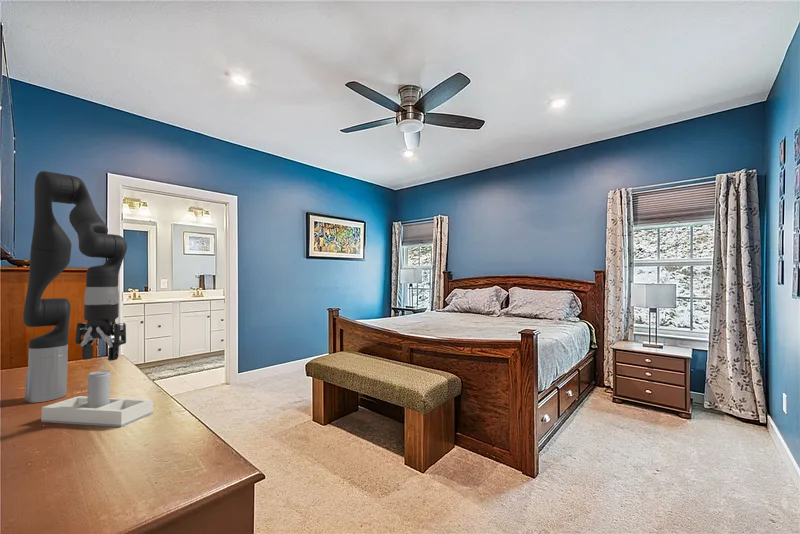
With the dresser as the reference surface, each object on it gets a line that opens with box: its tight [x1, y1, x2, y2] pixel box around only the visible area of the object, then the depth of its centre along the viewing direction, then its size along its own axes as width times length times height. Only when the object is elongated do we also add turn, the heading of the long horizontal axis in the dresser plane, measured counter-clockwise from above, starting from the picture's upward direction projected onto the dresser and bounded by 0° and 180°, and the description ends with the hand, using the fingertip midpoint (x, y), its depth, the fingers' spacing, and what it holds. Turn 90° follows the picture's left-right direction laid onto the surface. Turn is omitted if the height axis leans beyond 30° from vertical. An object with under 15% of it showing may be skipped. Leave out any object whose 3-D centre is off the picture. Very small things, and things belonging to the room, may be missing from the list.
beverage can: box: [87, 370, 111, 408], centre depth 97 cm, size 5×5×12 cm
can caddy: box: [40, 395, 154, 428], centre depth 97 cm, size 26×9×4 cm, turn 81°
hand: (100, 359), depth 98 cm, fingers open, 8 cm apart
